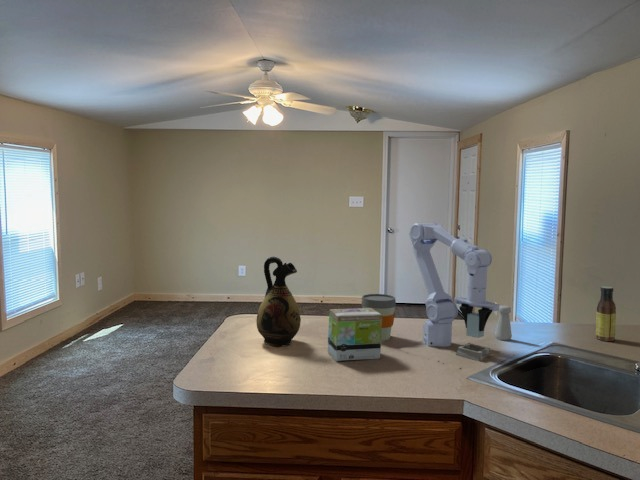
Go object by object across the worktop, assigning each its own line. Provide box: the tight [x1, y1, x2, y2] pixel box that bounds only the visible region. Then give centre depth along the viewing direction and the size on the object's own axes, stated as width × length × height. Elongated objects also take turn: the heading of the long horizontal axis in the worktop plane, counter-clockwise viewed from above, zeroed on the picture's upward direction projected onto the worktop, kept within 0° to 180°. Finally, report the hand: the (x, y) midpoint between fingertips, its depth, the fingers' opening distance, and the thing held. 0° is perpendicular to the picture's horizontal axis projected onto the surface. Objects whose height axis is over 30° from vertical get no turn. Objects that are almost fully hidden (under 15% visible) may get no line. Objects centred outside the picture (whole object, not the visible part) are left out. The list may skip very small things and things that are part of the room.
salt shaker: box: [494, 305, 513, 342], centre depth 175 cm, size 6×6×13 cm
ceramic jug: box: [255, 256, 302, 348], centre depth 168 cm, size 17×15×30 cm
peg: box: [465, 311, 485, 339], centre depth 156 cm, size 4×4×7 cm
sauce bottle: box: [595, 285, 617, 342], centre depth 180 cm, size 7×6×20 cm
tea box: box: [327, 307, 382, 362], centre depth 156 cm, size 15×10×15 cm, turn 105°
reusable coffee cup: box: [361, 293, 397, 342], centre depth 177 cm, size 13×13×15 cm
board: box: [455, 342, 501, 362], centre depth 159 cm, size 14×9×4 cm, turn 135°
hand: (474, 329), depth 156 cm, fingers closed on peg, 4 cm apart
